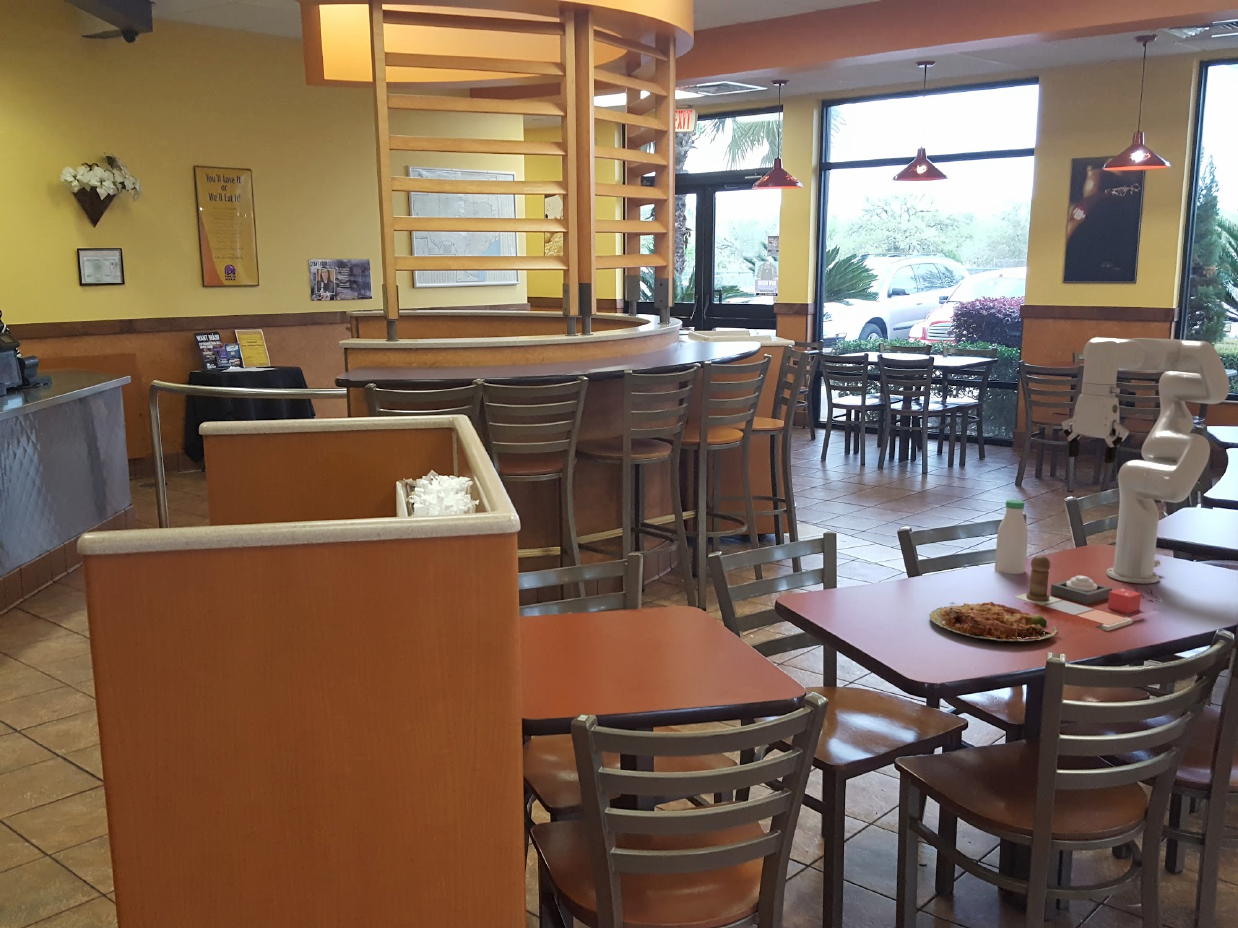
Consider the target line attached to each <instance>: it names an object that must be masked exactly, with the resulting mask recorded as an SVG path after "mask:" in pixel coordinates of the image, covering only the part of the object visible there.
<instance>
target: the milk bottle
mask: <svg viewBox="0 0 1238 928" xmlns="http://www.w3.org/2000/svg"><path fill="white" fill-rule="evenodd" d="M1005 509H1006V511H1005V514H1004V517H1003V519H1001V522H1000V524H999V526H998V529H997V536H996V538H997V539H996V545H995V546H996V548H995V549H996V550H995V561H994V571H995V573H999V572H1000V573H1002V574H1003V573H1004V574H1009V575H1010V574H1011V575H1013V574H1014V575H1019V574H1024V573H1025V572H1026V566H1027V556H1028V555H1027V553H1028V552H1027V551H1028V542H1029V539H1028V537H1029V534H1028V533H1029V531H1028V526H1027V524H1026V521H1025V517H1024V510H1025V502H1024V500H1023V501H1022V500H1019V499H1007V500H1006V502H1005Z"/></svg>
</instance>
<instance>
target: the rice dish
mask: <svg viewBox="0 0 1238 928" xmlns="http://www.w3.org/2000/svg"><path fill="white" fill-rule="evenodd" d="M928 615H929V618H930V620H931V621H932V622H933V623H934V624H936V625H938V626H939V627H941V628H945V629H947V630H949V631H952V632H954V633H957V634H959V635H961V636H967V637H969V638H973V639H980V640H994V641H996V642H1007V641H1008V642H1033V641H1036V640H1037V641H1041V640H1043V639H1048V638H1050V637H1053V636H1055V635H1056V634H1057V633H1058V630H1057V626H1053V630H1054V631H1052V632H1048V631H1045V629H1044V627H1046V626H1047V623H1048V621H1047V619H1046V618H1045V617H1044V616H1043V615H1040V614H1035V615H1031V614H1029V613H1028V612H1022V611H1021V610H1020V609H1019V608H1015V607H1011V606H1010V607H1009V606H1006V605H1005V604H1001V603H994V602H993V601H990V602H981V603H964V602H963V605H950V606H944V607H943V606H941V607H938V608H936V609H933V610H932V611H931V612H930V613H929V614H928ZM1043 632H1045V635H1043ZM1038 636H1040V637H1042V638H1037V639H1033V638H1032V639H1023V638H1026V637H1038ZM1017 637H1021V638H1022V639H1020V638H1017Z"/></svg>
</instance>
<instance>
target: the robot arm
mask: <svg viewBox="0 0 1238 928" xmlns="http://www.w3.org/2000/svg"><path fill="white" fill-rule="evenodd" d="M1082 355H1083V356H1082V357H1083V360H1084V363H1083V364H1084V366H1083V373H1082V374H1083V376H1082V383H1081V384H1082V385H1081V394H1079V395H1078V397H1077V400H1076V403H1075V408H1074V411H1073V416H1072V417H1071V418H1069V419H1066V420H1064V421H1062V422H1061V427H1062V429H1063V433H1064V435H1065V437H1066V438H1067V441H1068V457H1069V458H1076V457H1078V456H1079V454H1080V453H1079V452H1080V444H1081V443H1080V440H1079V439H1080V438H1081V437H1082V436H1083V437H1084V436H1085V437H1091V438H1098V439H1104V440H1105V443H1106V445H1108V446H1106V448H1105V453H1104V463H1105V464H1113V463H1115V460H1116V458H1117V449H1118V447H1119V446H1120V445H1121V444H1122V443H1124V442H1125V440H1126V438H1127V436H1128V435H1129V433H1130V431H1129V429H1127V428H1126V427H1125V426H1123V425H1122V424H1121V423H1120V405H1119V404H1120V403H1119V402H1120V401H1119V398H1118V397H1116V394H1120V392H1121V389H1120V388H1119V387H1117V377H1118V370H1119V371H1135V372H1136V371H1137V372H1148V373H1150V372H1151V373H1152V372H1153V373H1154V372H1156V373H1157V372H1158V373H1159V372H1160V373H1161V372H1162V374H1161V376H1160V378H1159V381H1158V395H1159V403H1160V404H1159V405H1160V412H1159V416H1158V418H1157V420H1156V422H1155V424H1154V425H1153V427H1152V428H1151V430H1150V432H1149V433H1148V435H1147V437H1146V438H1145V441H1144V442H1143V444H1142V447H1141V452H1140V453H1141V457H1142V458H1143V459H1132V460H1129V461H1126V462H1124V463H1123V464H1122V466H1120V468H1119V471H1118V477H1117V479H1118V490H1119V509H1118V520H1117V531H1116V540H1115V549H1114V551H1115V553H1114V560H1113V567H1109V568H1107V570H1106V576H1108V577H1109V578H1111V579H1114V580H1117V581H1121V582H1125V583H1126V582H1127V583H1131V584H1144V585H1145V584H1155V583H1157V582H1159V580H1160V576H1159V575H1158V573H1156V572H1154V569H1155V568H1157V567H1160V566H1161V561H1160V560H1159V559H1155V555H1156V547H1157V541H1158V540H1157V537H1158V530H1159V529H1158V528H1159V520H1160V514H1159V509H1158V506H1157V504H1156V502H1155V501H1162V502H1169V503H1174V504H1175V503H1181V502H1183V501H1185V500H1186V499H1187V498H1188V497H1189V495H1190V494H1191V492H1192V490H1193V488H1194V487H1195V485H1196V483H1197V481H1198V480H1199V479H1200V477H1201V475H1202V474H1203V472H1204V469H1205V468H1206V466H1207V464H1208V462H1209V458H1210V453H1211V446H1210V445H1211V444H1210V443H1209V441H1208V439H1207V438H1206V437H1205V436H1203V435H1201V434H1197V433H1191V431H1192V429H1193V427H1194V419H1193V416H1192V414H1191V412H1190V410H1189V409H1188V406H1187V405H1186V402H1188V403H1198V404H1207V405H1216V404H1220V403H1222V402H1224V401H1225V400H1226V399H1227V397H1228V395H1229V393H1230V379H1229V377H1228V374H1227V371H1226V369H1225V366H1224V364H1223V362H1222V359H1221V357H1220V355H1219V353H1218V351H1217V350H1216V348H1215V347H1214V346H1213V344H1211V343H1210V342H1208V341H1204V340H1202V341H1201V340H1191V339H1190V340H1188V339H1187V340H1186V339H1175V338H1173V339H1172V338H1151V337H1149V338H1148V337H1133V338H1116V337H1115V338H1113V337H1093V338H1091V339H1089V340H1088V341H1087V342H1086V344H1085V345H1084V347H1083V352H1082ZM1071 428H1072V429H1071Z"/></svg>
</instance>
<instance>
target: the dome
mask: <svg viewBox="0 0 1238 928" xmlns="http://www.w3.org/2000/svg"><path fill="white" fill-rule="evenodd" d="M1070 579H1071V580H1070ZM1070 579H1068V580H1069V581H1067V580H1066V581H1067V582H1066V587H1068V588H1072V589H1075V590H1079V591H1082V592H1086V593H1088V592H1091V591H1095V590H1097V585H1096V584H1097V583H1095V582H1094V580H1093V579H1091V578H1090V577H1089V576H1085V575H1075V576H1073V577H1071V578H1070Z"/></svg>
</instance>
